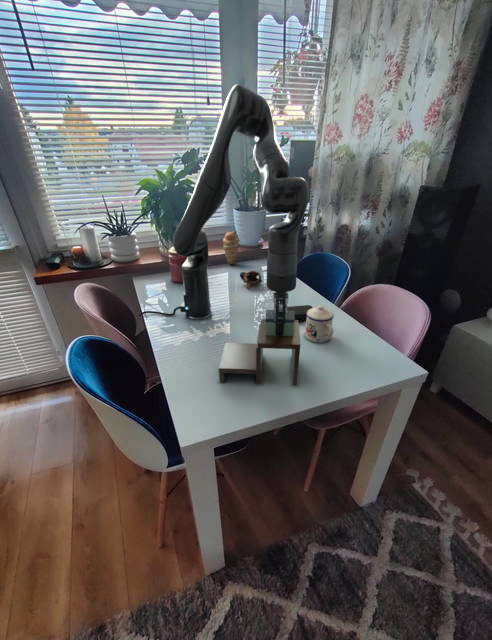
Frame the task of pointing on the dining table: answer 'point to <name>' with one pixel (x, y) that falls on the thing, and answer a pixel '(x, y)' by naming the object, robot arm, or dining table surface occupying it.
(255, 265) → the dining table surface
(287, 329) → the box
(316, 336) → the teacup with lid
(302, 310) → the carrying case
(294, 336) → the shelf riser
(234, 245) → the cat ice cream
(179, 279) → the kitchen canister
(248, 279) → the pottery mug
